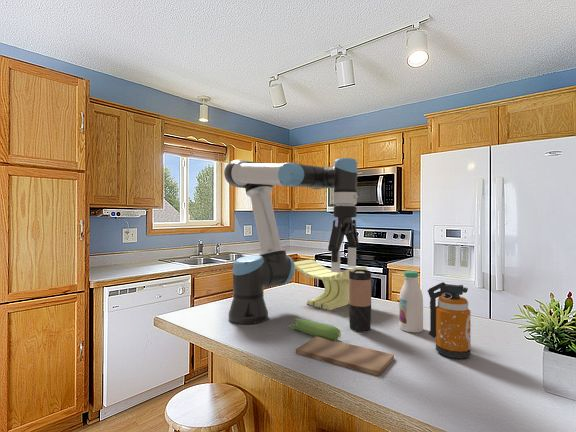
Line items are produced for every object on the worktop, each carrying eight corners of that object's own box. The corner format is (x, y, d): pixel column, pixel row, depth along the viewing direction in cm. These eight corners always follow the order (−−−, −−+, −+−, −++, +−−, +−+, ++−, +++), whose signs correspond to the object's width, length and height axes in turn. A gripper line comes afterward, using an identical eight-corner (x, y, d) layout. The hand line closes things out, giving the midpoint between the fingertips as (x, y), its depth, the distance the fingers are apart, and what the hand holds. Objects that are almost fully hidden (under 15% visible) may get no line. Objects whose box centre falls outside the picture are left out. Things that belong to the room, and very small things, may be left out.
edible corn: (333, 331, 102) (341, 324, 105) (286, 319, 116) (294, 313, 119) (336, 346, 103) (344, 338, 106) (289, 332, 117) (298, 326, 120)
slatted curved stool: (368, 306, 144) (368, 265, 144) (346, 314, 133) (346, 269, 133) (315, 294, 166) (315, 258, 166) (292, 300, 155) (292, 262, 155)
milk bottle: (423, 327, 118) (423, 270, 118) (422, 334, 111) (422, 274, 111) (400, 324, 121) (400, 269, 121) (398, 331, 114) (398, 272, 114)
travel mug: (371, 333, 112) (371, 273, 112) (348, 331, 114) (348, 272, 114) (370, 325, 120) (370, 269, 120) (349, 324, 121) (349, 269, 121)
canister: (469, 363, 90) (469, 288, 90) (425, 353, 96) (425, 283, 95) (471, 351, 97) (471, 282, 97) (430, 343, 103) (430, 278, 103)
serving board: (295, 353, 96) (295, 348, 96) (316, 340, 106) (316, 336, 106) (379, 376, 82) (379, 371, 82) (393, 358, 92) (393, 354, 92)
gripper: (340, 204, 99) (339, 276, 99) (368, 206, 120) (367, 265, 120) (317, 204, 103) (316, 273, 103) (348, 205, 124) (347, 263, 124)
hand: (344, 269), depth 112 cm, fingers open, 13 cm apart
